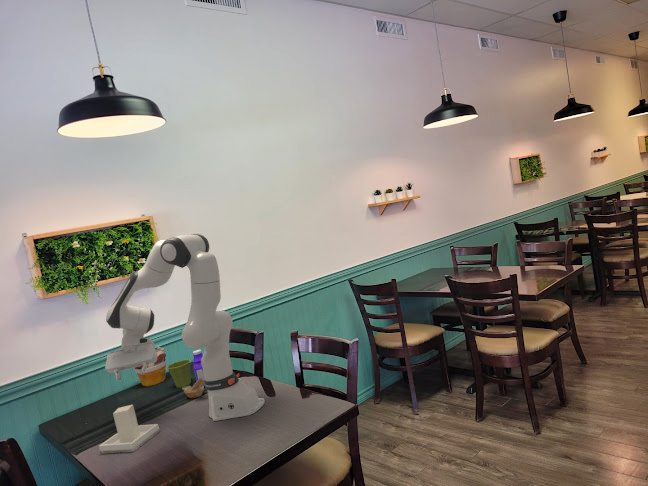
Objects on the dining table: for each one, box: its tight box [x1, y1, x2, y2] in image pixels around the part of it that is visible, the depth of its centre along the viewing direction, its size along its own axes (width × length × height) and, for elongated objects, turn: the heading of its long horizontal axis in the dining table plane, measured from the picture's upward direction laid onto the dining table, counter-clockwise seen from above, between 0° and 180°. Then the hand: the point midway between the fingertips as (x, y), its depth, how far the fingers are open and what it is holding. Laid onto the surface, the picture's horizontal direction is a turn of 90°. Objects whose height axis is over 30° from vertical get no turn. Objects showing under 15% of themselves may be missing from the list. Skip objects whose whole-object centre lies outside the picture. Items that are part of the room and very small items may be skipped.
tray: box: [98, 423, 161, 455], centre depth 182 cm, size 15×15×3 cm
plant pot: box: [166, 359, 192, 389], centre depth 242 cm, size 12×12×11 cm
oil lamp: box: [181, 378, 205, 399], centre depth 221 cm, size 9×21×10 cm, turn 39°
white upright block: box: [112, 404, 140, 443], centre depth 182 cm, size 6×6×12 cm
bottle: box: [192, 349, 206, 388], centre depth 233 cm, size 7×6×17 cm
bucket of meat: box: [134, 346, 167, 388], centre depth 258 cm, size 20×16×20 cm
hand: (130, 376), depth 194 cm, fingers open, 8 cm apart
